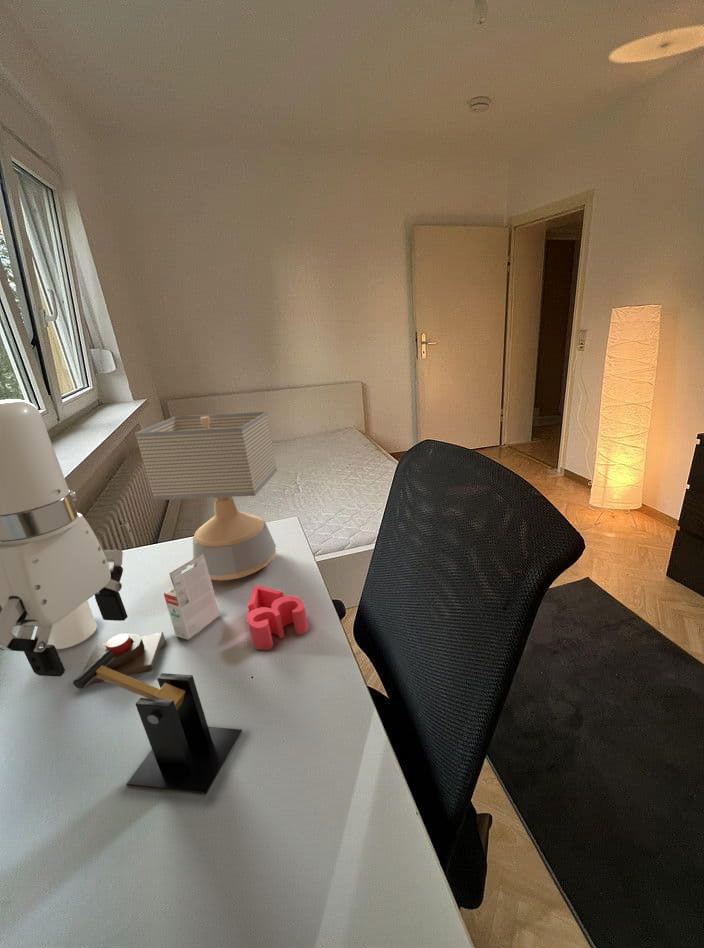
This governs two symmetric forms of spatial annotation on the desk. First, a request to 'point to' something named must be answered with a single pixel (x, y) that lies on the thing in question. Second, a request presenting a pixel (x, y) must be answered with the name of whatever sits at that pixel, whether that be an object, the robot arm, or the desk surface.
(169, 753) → the switch bracket
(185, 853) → the desk surface
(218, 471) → the desk lamp
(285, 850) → the desk surface
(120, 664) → the button block
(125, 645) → the red button
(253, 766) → the desk surface
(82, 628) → the cup
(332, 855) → the desk surface
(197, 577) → the ink box
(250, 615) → the letters
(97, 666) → the switch lever
